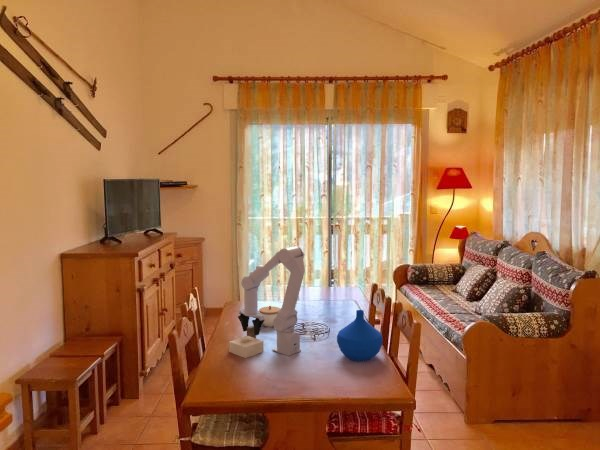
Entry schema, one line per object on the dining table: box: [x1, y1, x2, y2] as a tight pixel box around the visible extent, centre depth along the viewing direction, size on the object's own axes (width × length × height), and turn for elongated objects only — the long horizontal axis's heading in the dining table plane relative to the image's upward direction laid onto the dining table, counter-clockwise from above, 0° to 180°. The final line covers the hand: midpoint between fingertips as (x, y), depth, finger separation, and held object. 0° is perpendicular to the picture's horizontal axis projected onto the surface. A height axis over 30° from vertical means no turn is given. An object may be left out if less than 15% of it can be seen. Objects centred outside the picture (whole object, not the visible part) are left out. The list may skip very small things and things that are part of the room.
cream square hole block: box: [228, 335, 264, 359], centre depth 197 cm, size 10×10×4 cm
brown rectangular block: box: [246, 325, 257, 339], centre depth 208 cm, size 2×4×7 cm, turn 138°
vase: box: [336, 309, 384, 363], centre depth 191 cm, size 18×18×19 cm
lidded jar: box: [258, 305, 281, 328], centre depth 233 cm, size 11×11×9 cm
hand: (251, 332), depth 208 cm, fingers open, 7 cm apart
